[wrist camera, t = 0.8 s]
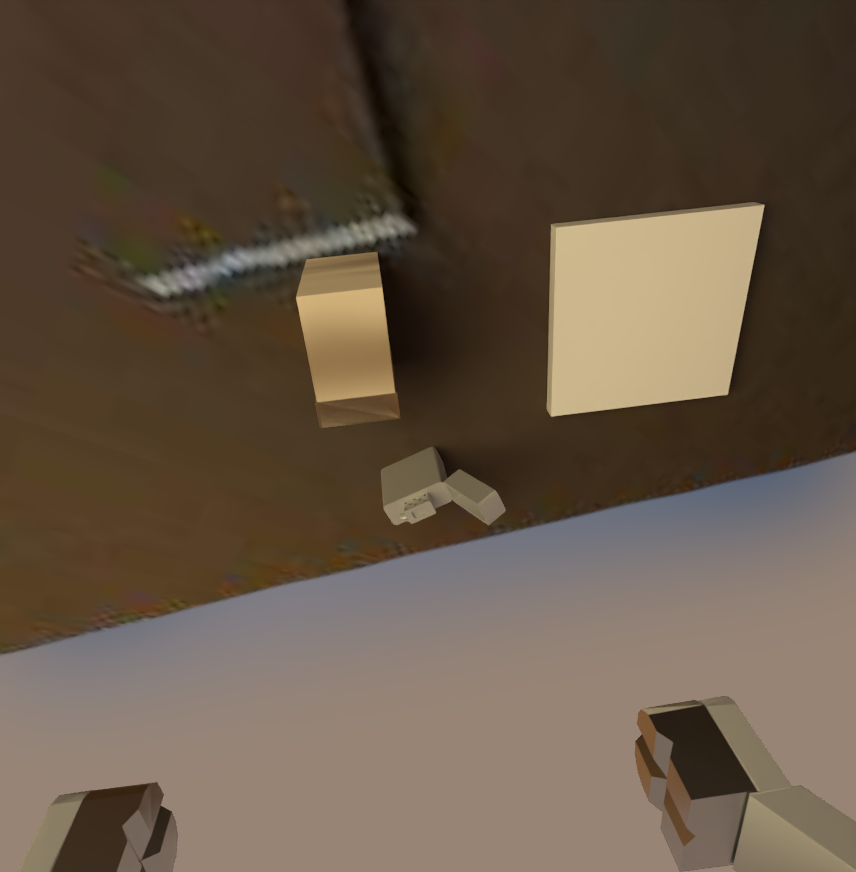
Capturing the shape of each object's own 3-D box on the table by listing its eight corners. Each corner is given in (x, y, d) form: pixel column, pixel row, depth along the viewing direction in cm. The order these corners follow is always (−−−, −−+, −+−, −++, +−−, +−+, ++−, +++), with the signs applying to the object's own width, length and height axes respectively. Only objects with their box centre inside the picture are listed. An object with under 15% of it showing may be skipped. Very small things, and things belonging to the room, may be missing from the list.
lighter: (391, 488, 42) (398, 565, 35) (379, 469, 41) (384, 545, 34) (483, 447, 41) (509, 518, 34) (473, 427, 40) (498, 496, 33)
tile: (551, 224, 34) (556, 227, 33) (754, 202, 35) (764, 204, 34) (546, 409, 40) (551, 416, 39) (719, 388, 41) (727, 394, 40)
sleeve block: (304, 259, 34) (293, 297, 28) (379, 251, 34) (384, 286, 28) (325, 373, 37) (320, 428, 31) (392, 365, 37) (400, 418, 31)
